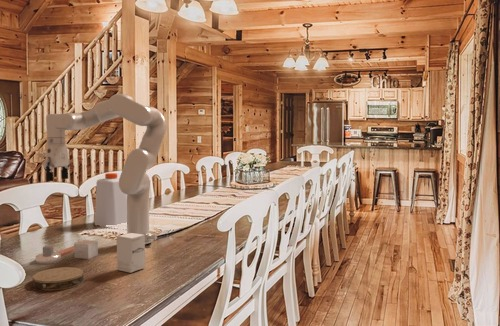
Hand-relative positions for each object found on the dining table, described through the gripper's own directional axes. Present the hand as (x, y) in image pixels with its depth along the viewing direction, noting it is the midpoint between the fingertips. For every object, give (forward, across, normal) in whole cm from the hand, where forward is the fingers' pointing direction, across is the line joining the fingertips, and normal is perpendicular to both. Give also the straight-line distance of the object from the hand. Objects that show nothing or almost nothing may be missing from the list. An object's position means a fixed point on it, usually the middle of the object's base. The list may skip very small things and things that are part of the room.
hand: (57, 179), depth 219 cm
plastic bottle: (+29, +38, -2) cm, 48 cm away
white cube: (+29, -18, -27) cm, 43 cm away
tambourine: (+29, -47, -37) cm, 67 cm away
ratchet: (+29, -28, -17) cm, 43 cm away
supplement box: (+29, -27, -53) cm, 66 cm away
